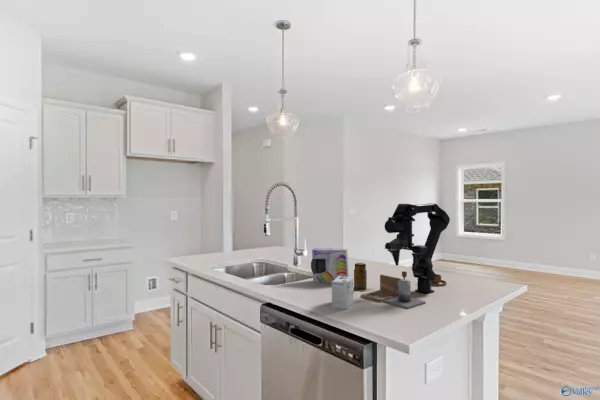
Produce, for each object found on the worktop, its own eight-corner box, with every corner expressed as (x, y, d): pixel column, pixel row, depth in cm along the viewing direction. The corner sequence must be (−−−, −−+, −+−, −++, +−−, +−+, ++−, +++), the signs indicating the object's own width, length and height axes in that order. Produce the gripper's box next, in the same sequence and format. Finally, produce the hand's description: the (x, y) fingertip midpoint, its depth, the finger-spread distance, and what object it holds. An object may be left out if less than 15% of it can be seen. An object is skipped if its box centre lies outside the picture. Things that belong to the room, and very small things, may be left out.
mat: (401, 297, 160) (401, 295, 160) (425, 303, 151) (425, 301, 151) (383, 302, 153) (383, 300, 153) (407, 308, 143) (407, 306, 143)
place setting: (438, 290, 174) (438, 277, 174) (400, 283, 188) (399, 272, 188) (452, 283, 187) (452, 272, 187) (415, 277, 201) (415, 267, 201)
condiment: (361, 286, 180) (361, 262, 180) (372, 289, 173) (372, 264, 173) (349, 288, 177) (349, 263, 177) (360, 291, 169) (360, 266, 169)
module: (403, 298, 155) (402, 277, 155) (413, 300, 151) (412, 279, 151) (395, 300, 152) (395, 279, 152) (405, 303, 148) (405, 281, 148)
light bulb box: (338, 300, 155) (338, 275, 155) (353, 302, 153) (353, 276, 153) (331, 307, 145) (331, 280, 145) (347, 309, 143) (347, 282, 143)
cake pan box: (310, 282, 189) (310, 248, 189) (313, 280, 193) (313, 247, 193) (347, 285, 183) (347, 249, 182) (349, 282, 187) (349, 248, 187)
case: (381, 291, 169) (381, 274, 169) (401, 296, 161) (401, 278, 161) (360, 296, 161) (360, 278, 161) (380, 302, 152) (380, 283, 152)
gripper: (377, 231, 164) (377, 266, 164) (412, 234, 149) (412, 272, 149) (392, 229, 171) (392, 263, 171) (428, 232, 156) (428, 269, 156)
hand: (405, 266), depth 162 cm, fingers open, 9 cm apart
